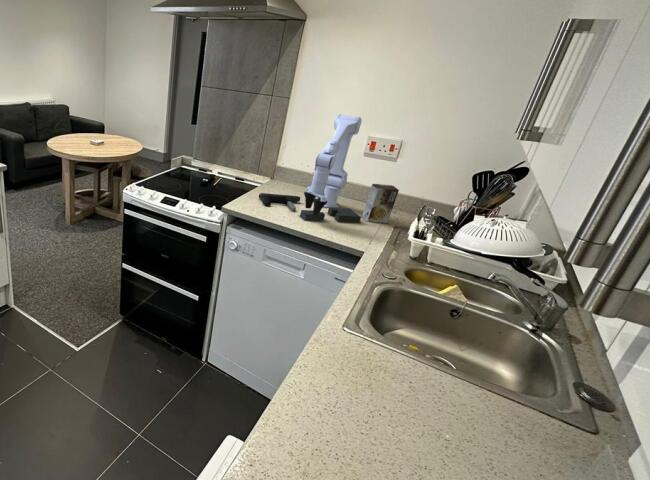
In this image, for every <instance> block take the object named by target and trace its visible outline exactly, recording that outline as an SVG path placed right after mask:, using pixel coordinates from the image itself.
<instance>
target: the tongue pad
mask: <svg viewBox="0 0 650 480" xmlns="http://www.w3.org/2000/svg"><path fill="white" fill-rule="evenodd" d="M299 217H300V218H301V219H302V220H303V221H311V222H314V221H315V222H321V221H324V219H325V217H326V214H325V212H323V211H320V212H319V214H318V215H313V209H311V210H310V209H301V210H300V214H299Z"/></svg>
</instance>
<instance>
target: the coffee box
mask: <svg viewBox="0 0 650 480" xmlns="http://www.w3.org/2000/svg"><path fill="white" fill-rule="evenodd" d="M399 192H400V189H399V188H397V187H396V186H394V185H391V184H382V183H381V184H380V183H372V184H371V187H370V191H369V193H368V196H367V200H366V203H365V206H364V209H363V212H362V215H361V218H363V219H364V220H365V221H366V222H370V223H381V224H382V223H383V224H388V223H389V221H390V218H391V215H392V212H393V210H394V206H395V203H396V201H397V197H398V194H399Z"/></svg>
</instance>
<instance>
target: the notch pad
mask: <svg viewBox="0 0 650 480" xmlns="http://www.w3.org/2000/svg"><path fill="white" fill-rule="evenodd" d="M326 214H327V215H329V216H330V217H334V220H335V221H336V222H337V223H349V224H351V223H352V224H353V223H355V224H360V222H361V220H362V215H360V214H358V213H357V212H355V211H354V210H353V209H351V208H348V207H339V208H335V207H328V209H327V213H326Z"/></svg>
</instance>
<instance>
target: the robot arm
mask: <svg viewBox="0 0 650 480" xmlns="http://www.w3.org/2000/svg"><path fill="white" fill-rule="evenodd" d="M362 121H363V120H362V117H361V116H352V115H346V114H341V113H339V114H337V115H336V117H335V119H334V122H333V128H334V133H333V136H332V139H330V140H328V141H327V142H326V144H325V146H324V148H323V149H322V151H321V153H318V154H317V156H316V158H315V162H314V174H313V178H312V181H311V185H308V186H307V187H306V191H304V192H303V194H304V199H305V201H304V203H305V206H304V207H305V209H311V208H312V206H313V209H312V210H313V215H318V214H319V212H322V209H323V208H329V207H332V208H340V206H339V205H337V202H338V199H339V195H340V192H341V190H343V189H344V188H345V187H346V184H347V181H348V172H347V171H346V170H345V169H344V166H345V162H346V159H347V156H348V152H349V149H350V145H351V141H352V138H353V137H354V136H356V135H358V133H359V132H360V129H361V125H362Z"/></svg>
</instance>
